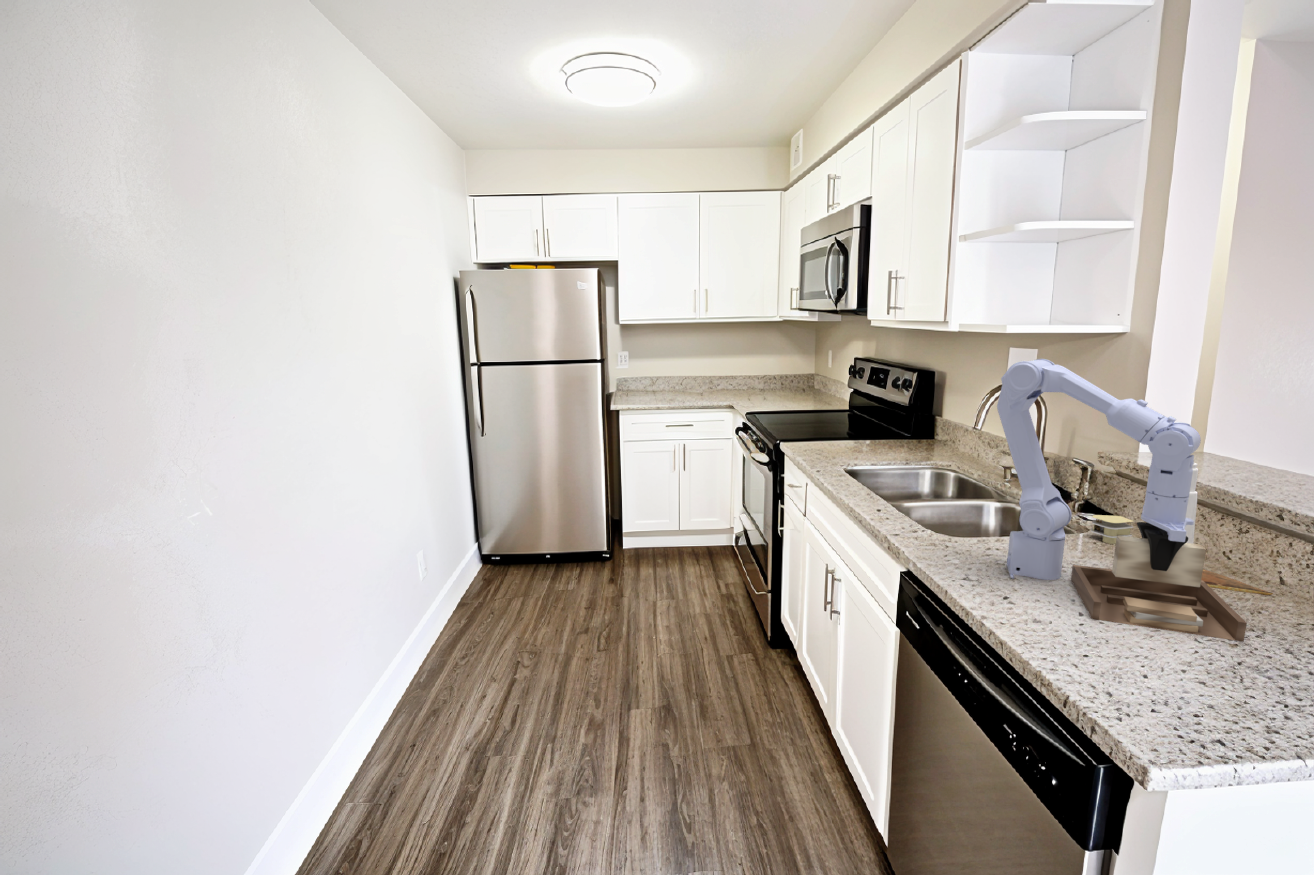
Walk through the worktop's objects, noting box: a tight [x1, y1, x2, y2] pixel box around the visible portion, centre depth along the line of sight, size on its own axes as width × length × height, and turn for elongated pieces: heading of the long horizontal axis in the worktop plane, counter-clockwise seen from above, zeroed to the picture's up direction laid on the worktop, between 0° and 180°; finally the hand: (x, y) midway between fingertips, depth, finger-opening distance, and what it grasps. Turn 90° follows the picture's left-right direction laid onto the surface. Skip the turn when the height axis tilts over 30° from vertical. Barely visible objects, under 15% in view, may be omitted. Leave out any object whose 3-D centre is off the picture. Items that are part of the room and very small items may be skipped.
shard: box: [1201, 568, 1274, 596], centre depth 115 cm, size 13×9×2 cm
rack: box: [1070, 564, 1248, 642], centre depth 107 cm, size 20×17×4 cm
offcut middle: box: [1130, 611, 1203, 627], centre depth 101 cm, size 9×4×1 cm, turn 70°
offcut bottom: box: [1124, 608, 1199, 633], centre depth 101 cm, size 9×4×1 cm, turn 66°
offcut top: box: [1123, 597, 1197, 622], centre depth 101 cm, size 9×4×1 cm, turn 61°
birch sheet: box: [1111, 536, 1207, 587], centre depth 107 cm, size 12×2×7 cm, turn 66°
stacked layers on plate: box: [1090, 514, 1135, 545], centre depth 141 cm, size 10×9×6 cm
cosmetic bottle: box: [1185, 462, 1199, 544], centre depth 125 cm, size 6×6×22 cm
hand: (1156, 566), depth 107 cm, fingers closed on birch sheet, 2 cm apart
